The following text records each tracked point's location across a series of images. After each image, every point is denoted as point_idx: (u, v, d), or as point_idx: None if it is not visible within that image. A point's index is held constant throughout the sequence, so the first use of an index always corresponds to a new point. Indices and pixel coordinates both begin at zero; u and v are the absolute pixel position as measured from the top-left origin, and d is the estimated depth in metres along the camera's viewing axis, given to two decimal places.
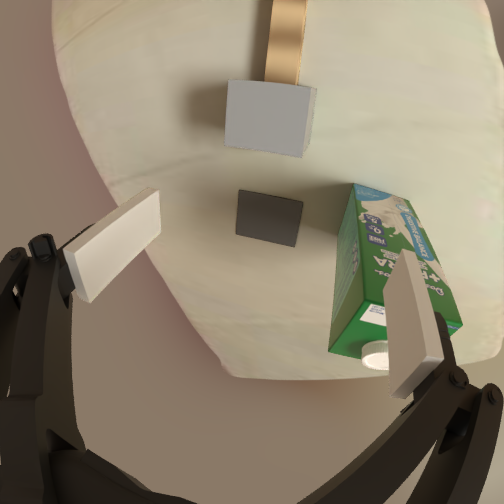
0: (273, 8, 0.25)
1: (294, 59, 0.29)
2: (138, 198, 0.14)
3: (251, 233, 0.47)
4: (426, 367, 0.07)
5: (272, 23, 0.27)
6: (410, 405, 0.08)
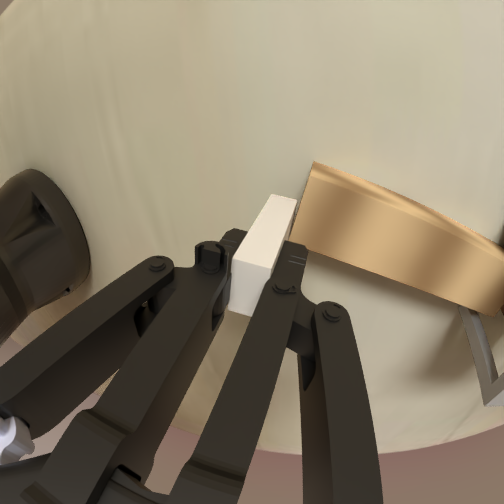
0: (358, 264, 0.15)
1: (482, 259, 0.12)
2: (272, 204, 0.14)
3: None
4: (258, 278, 0.10)
5: (394, 276, 0.15)
6: None
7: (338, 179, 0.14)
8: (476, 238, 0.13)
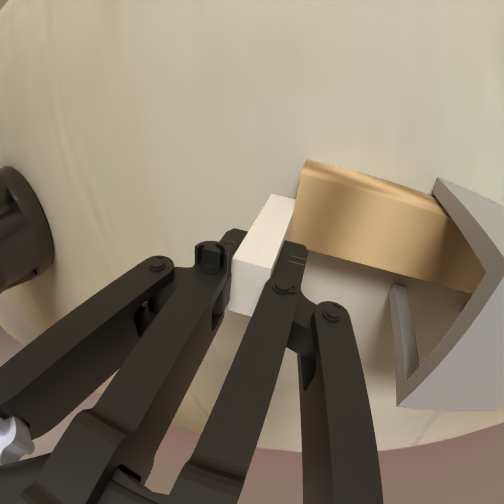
0: (361, 261, 0.14)
1: None
2: (272, 204, 0.14)
3: None
4: (258, 278, 0.10)
5: (400, 270, 0.14)
6: None
7: (331, 175, 0.14)
8: None
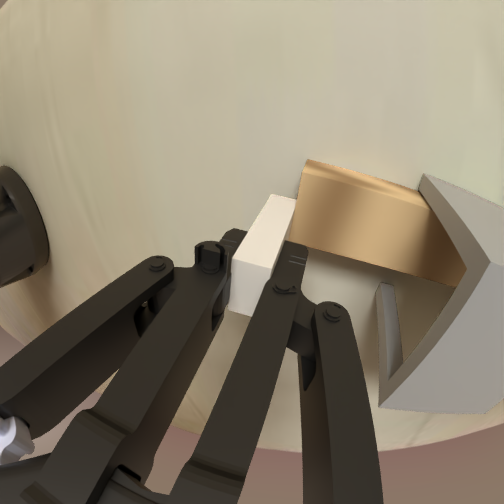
0: (361, 258, 0.15)
1: None
2: (271, 204, 0.14)
3: None
4: (258, 278, 0.10)
5: (399, 267, 0.14)
6: None
7: (333, 173, 0.14)
8: None
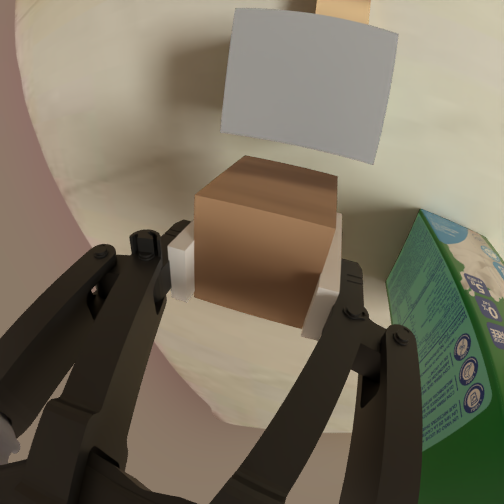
0: (318, 1, 0.14)
1: None
2: None
3: None
4: (324, 301, 0.10)
5: None
6: None
7: None
8: None
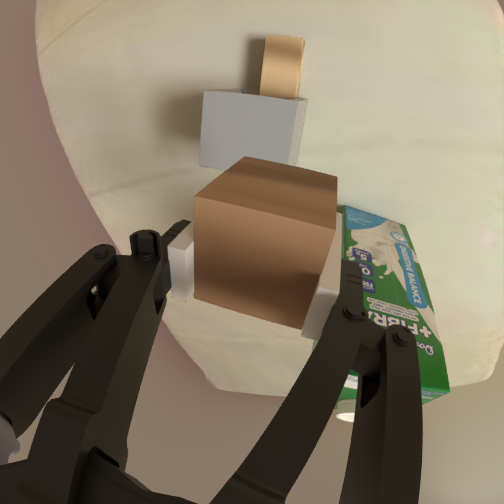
0: (263, 67, 0.26)
1: None
2: None
3: None
4: (324, 301, 0.10)
5: (262, 86, 0.28)
6: None
7: (302, 51, 0.25)
8: None
